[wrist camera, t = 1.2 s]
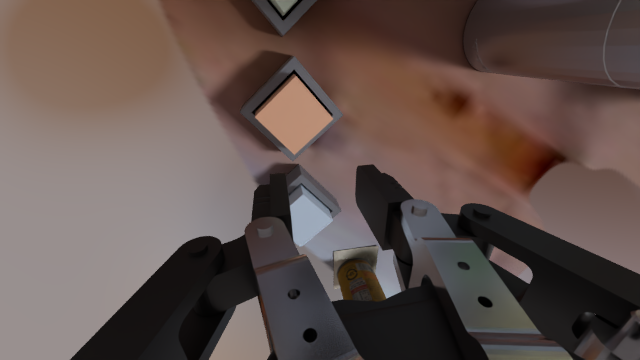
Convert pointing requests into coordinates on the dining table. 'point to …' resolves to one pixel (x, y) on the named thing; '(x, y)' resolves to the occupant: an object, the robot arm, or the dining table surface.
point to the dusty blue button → (307, 214)
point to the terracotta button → (293, 114)
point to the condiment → (357, 274)
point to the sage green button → (283, 5)
